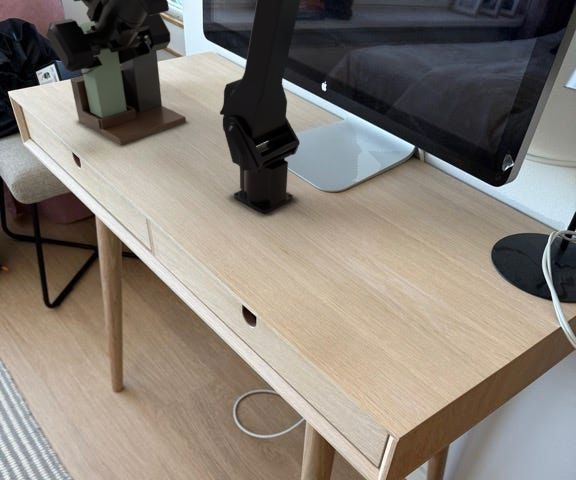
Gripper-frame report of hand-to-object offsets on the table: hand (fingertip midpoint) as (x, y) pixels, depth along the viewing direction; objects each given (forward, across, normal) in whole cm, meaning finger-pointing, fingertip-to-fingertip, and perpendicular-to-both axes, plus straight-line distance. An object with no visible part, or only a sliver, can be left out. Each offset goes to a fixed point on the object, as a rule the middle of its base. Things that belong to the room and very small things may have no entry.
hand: (96, 67), depth 93 cm
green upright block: (+4, 0, +6) cm, 7 cm away
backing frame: (+4, -4, +8) cm, 10 cm away
